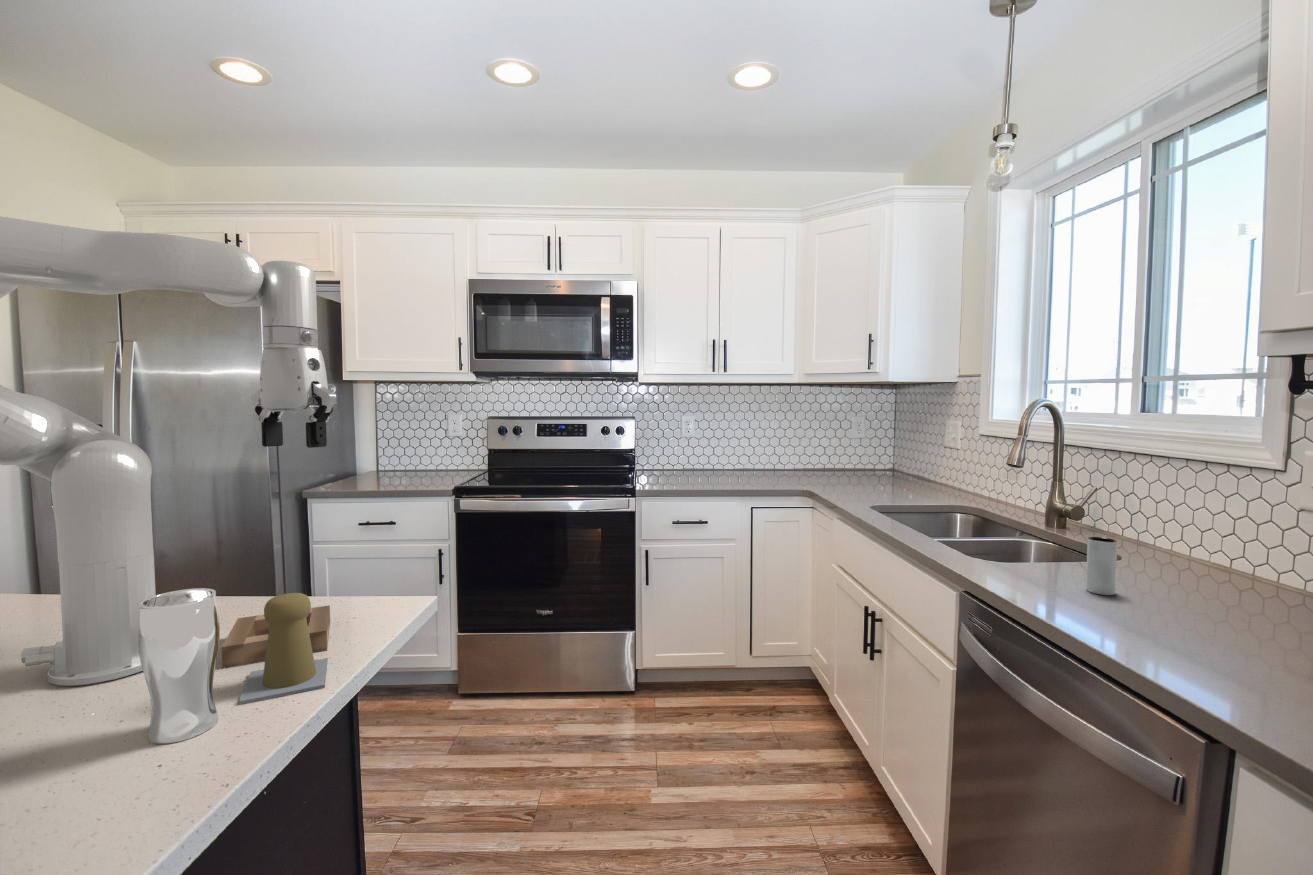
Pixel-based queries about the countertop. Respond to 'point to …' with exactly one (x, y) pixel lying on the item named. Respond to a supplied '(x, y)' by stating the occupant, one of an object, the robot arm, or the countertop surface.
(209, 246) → the robot arm
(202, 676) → the beer glass
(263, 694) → the rubber mat
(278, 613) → the olive rounded peg
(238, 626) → the wooden square frame
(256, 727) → the countertop surface
